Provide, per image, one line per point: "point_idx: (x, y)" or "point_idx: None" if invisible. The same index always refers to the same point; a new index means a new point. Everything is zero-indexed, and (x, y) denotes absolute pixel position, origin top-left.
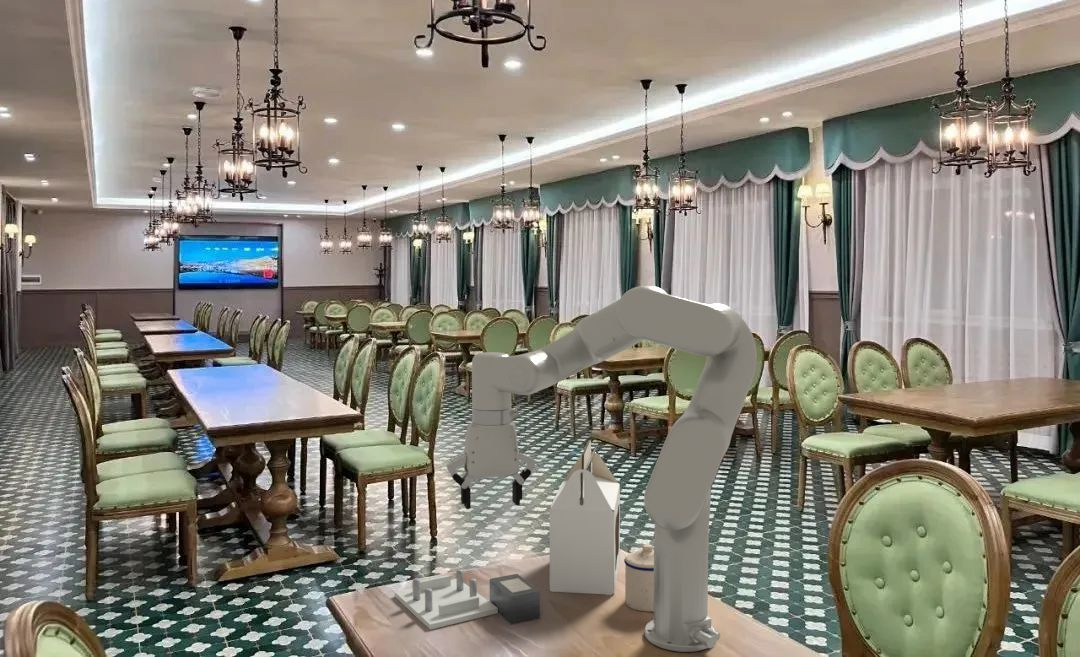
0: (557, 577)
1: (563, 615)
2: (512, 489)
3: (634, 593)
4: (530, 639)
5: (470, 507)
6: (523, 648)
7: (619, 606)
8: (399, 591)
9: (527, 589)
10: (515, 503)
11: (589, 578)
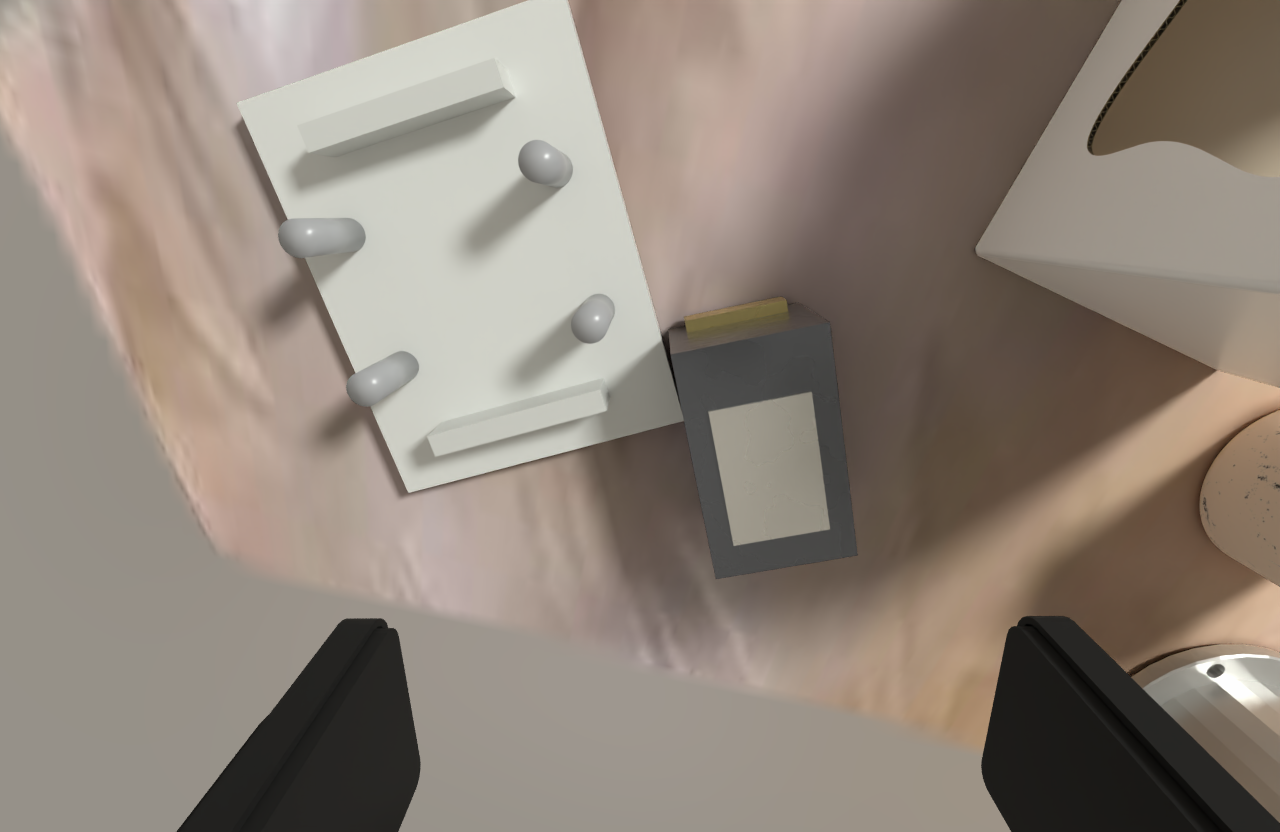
0: (1044, 275)
1: (919, 497)
2: (1126, 763)
3: (1259, 561)
4: (738, 631)
5: (416, 783)
6: (699, 676)
7: (1166, 479)
8: (260, 106)
9: (808, 531)
10: (989, 761)
11: (1185, 341)
